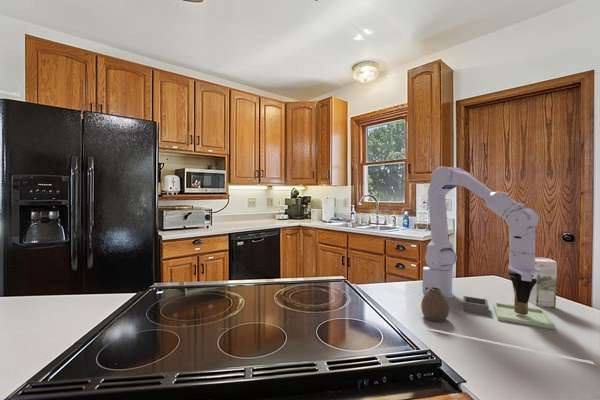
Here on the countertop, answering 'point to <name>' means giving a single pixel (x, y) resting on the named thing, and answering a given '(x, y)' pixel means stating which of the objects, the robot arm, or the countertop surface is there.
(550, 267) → the syrup box
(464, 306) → the square holder
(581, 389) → the countertop surface
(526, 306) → the dowel
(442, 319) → the vase
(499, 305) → the tray
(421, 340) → the countertop surface
